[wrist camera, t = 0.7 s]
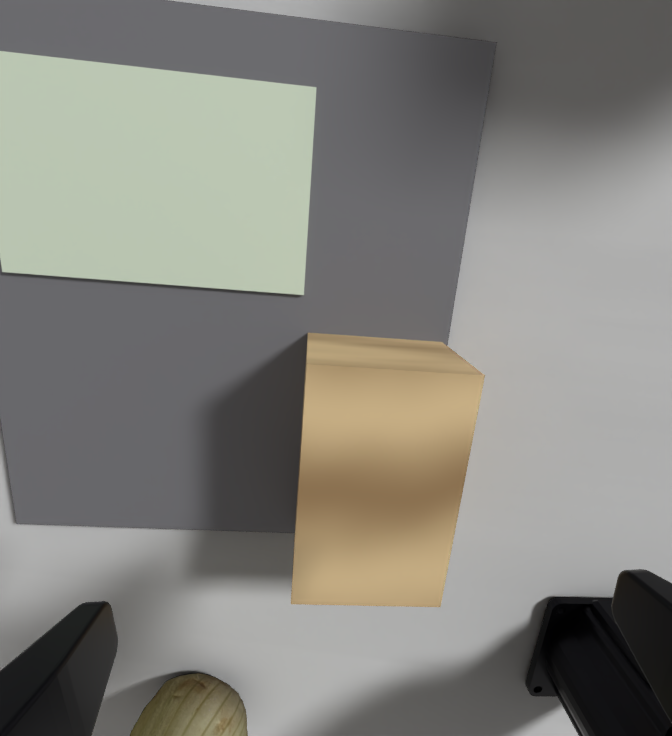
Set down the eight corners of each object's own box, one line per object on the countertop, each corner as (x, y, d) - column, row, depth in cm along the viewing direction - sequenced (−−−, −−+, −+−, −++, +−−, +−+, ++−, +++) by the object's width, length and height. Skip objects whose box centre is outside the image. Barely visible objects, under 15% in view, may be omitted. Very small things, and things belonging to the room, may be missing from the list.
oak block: (412, 527, 20) (440, 607, 16) (295, 523, 20) (290, 604, 15) (442, 341, 17) (484, 375, 13) (308, 332, 17) (306, 364, 13)
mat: (413, 528, 21) (417, 539, 20) (25, 515, 19) (13, 526, 19) (489, 49, 15) (498, 39, 14) (-53, -19, 14) (-75, -34, 13)
